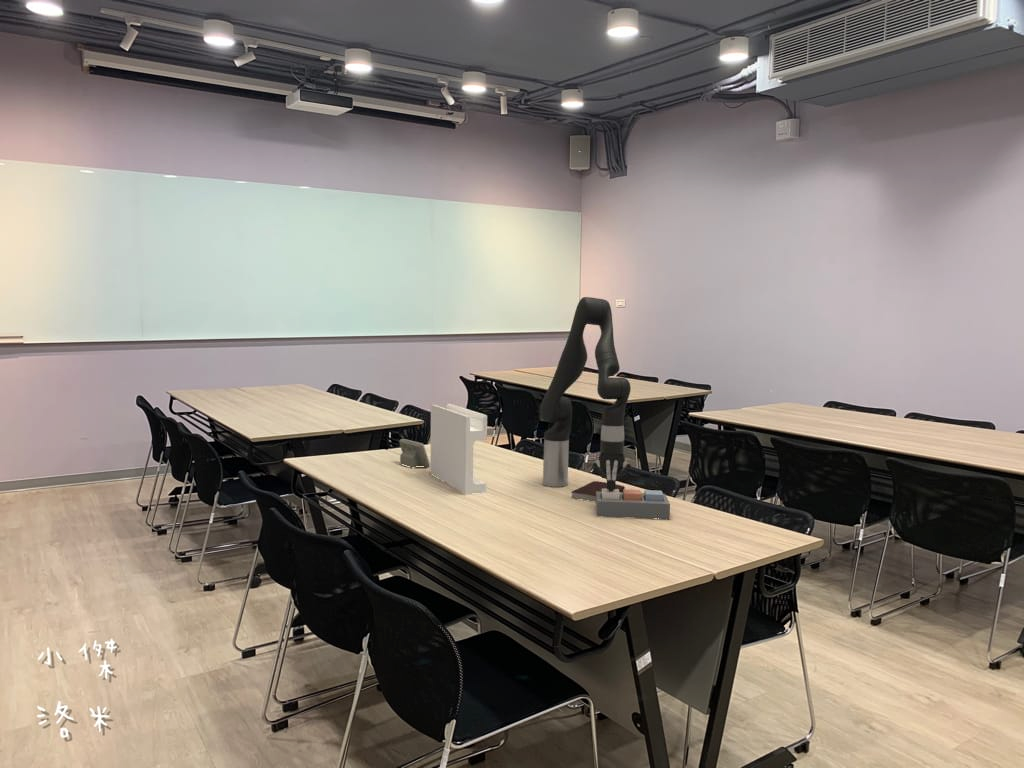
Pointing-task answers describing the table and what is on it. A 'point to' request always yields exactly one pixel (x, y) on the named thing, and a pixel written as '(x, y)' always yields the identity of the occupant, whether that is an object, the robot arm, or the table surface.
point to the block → (456, 446)
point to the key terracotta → (631, 494)
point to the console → (632, 507)
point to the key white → (610, 494)
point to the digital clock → (413, 454)
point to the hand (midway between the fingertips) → (610, 490)
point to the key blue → (653, 495)
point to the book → (592, 490)
